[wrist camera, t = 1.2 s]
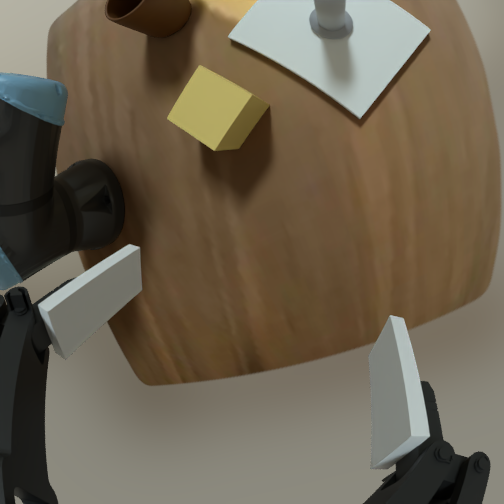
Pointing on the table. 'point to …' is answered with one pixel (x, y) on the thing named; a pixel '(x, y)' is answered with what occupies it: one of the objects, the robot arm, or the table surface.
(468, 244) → the table surface
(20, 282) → the robot arm
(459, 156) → the table surface
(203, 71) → the pale yellow cube
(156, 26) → the mug
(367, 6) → the white square plate
